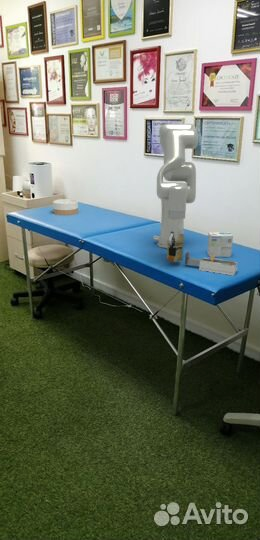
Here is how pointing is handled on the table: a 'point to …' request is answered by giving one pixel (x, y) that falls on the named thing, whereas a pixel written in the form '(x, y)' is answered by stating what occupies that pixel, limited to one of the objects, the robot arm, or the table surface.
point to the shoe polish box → (178, 250)
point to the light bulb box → (220, 244)
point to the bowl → (65, 207)
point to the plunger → (196, 260)
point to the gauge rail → (219, 266)
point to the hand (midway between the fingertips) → (174, 253)
